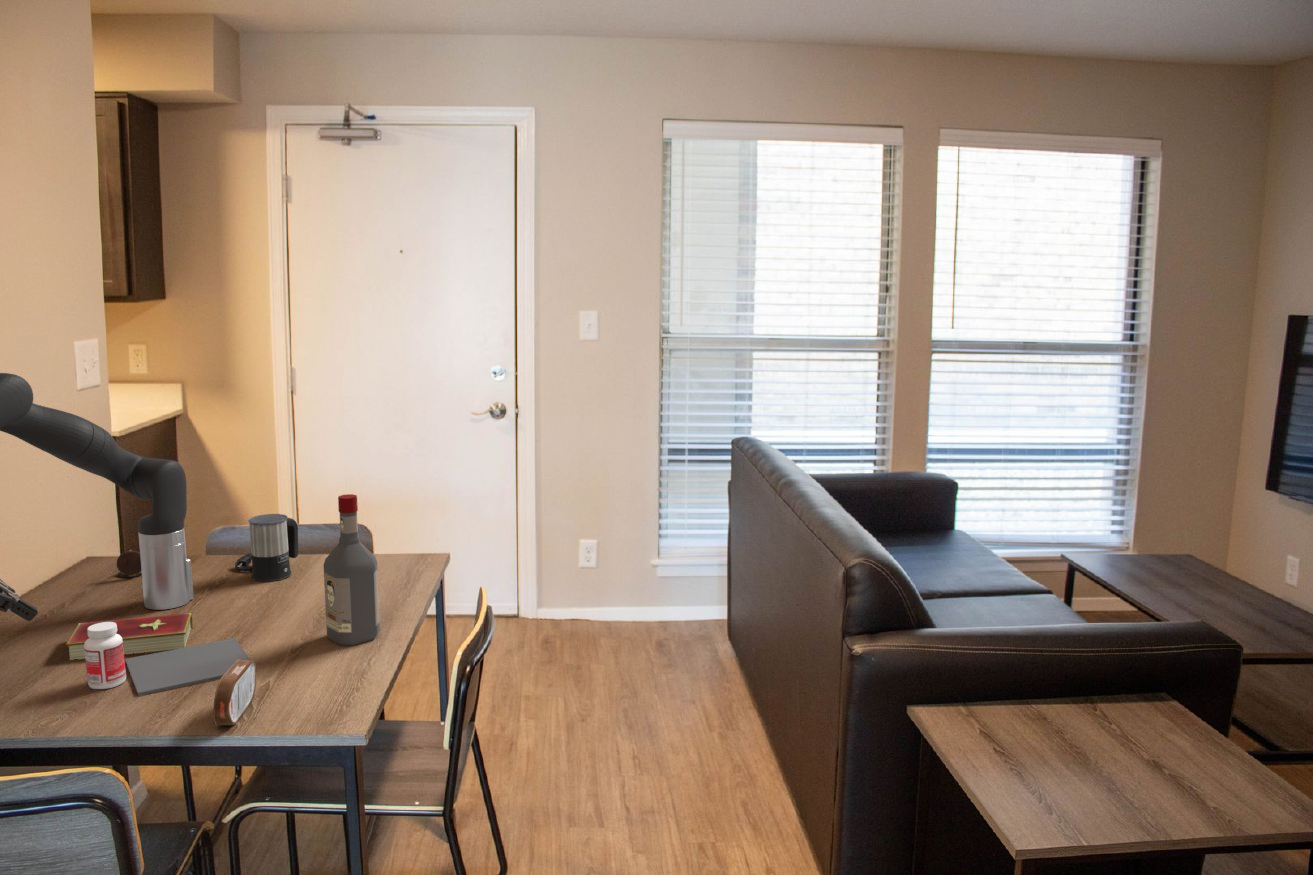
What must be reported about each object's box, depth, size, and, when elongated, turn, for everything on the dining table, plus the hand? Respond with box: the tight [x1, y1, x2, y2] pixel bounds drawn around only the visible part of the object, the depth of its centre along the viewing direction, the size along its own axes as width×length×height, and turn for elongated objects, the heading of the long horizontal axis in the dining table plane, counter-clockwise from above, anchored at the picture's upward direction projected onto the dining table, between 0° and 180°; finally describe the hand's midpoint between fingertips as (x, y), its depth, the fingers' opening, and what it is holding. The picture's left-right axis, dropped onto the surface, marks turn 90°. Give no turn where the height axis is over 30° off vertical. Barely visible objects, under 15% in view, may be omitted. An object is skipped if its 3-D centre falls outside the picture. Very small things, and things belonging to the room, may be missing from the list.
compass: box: [109, 549, 142, 579], centre depth 241 cm, size 8×8×7 cm
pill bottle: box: [84, 622, 127, 690], centre depth 180 cm, size 6×6×11 cm
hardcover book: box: [65, 612, 194, 661], centre depth 199 cm, size 12×21×4 cm, turn 109°
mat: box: [124, 637, 251, 697], centre depth 189 cm, size 20×18×1 cm
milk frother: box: [234, 513, 299, 583], centre depth 244 cm, size 14×16×15 cm
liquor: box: [323, 493, 381, 647], centre depth 202 cm, size 9×9×30 cm
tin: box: [213, 659, 257, 727], centre depth 169 cm, size 15×3×8 cm, turn 5°
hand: (34, 615), depth 173 cm, fingers closed
